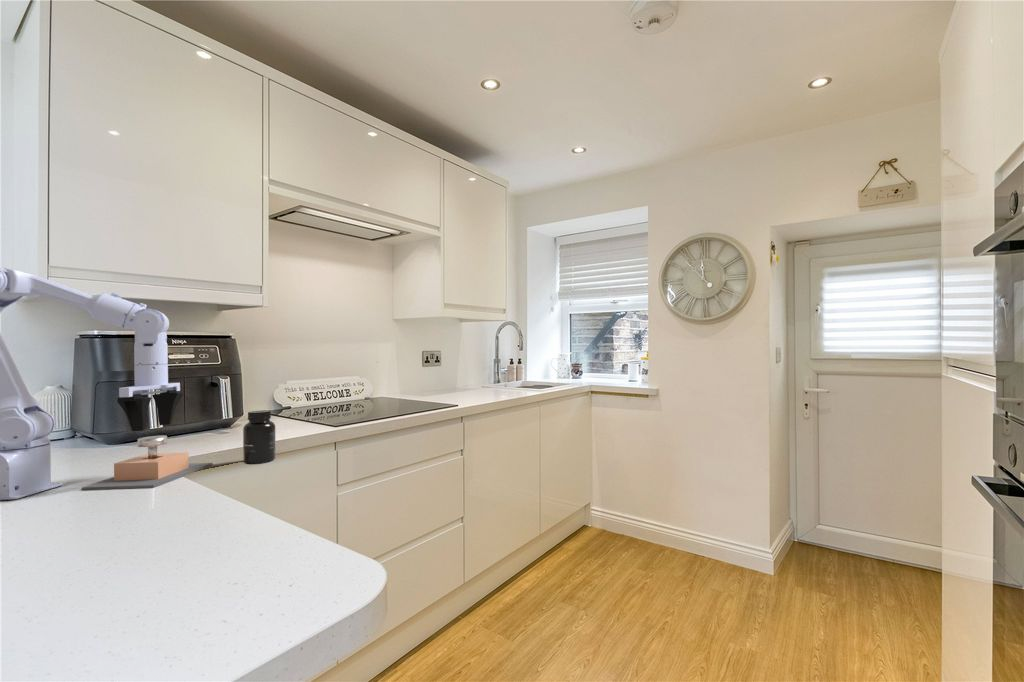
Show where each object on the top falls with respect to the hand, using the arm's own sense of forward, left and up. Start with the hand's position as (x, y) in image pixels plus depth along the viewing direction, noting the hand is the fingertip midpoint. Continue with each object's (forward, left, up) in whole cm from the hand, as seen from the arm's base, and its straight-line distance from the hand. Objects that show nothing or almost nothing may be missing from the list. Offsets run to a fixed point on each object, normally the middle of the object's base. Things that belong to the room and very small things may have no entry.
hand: (152, 427), depth 100 cm
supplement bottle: (+11, -17, -11) cm, 23 cm away
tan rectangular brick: (0, 0, -10) cm, 10 cm away
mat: (0, 0, -10) cm, 10 cm away
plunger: (0, 0, -7) cm, 7 cm away
